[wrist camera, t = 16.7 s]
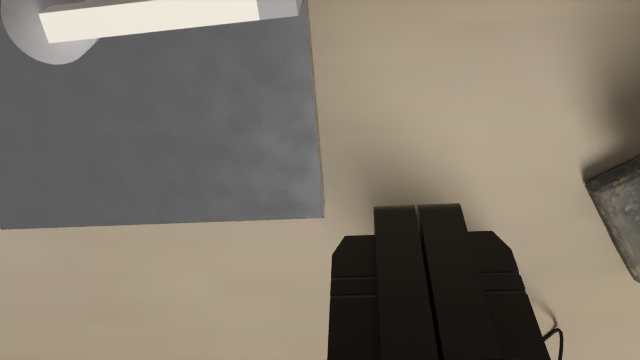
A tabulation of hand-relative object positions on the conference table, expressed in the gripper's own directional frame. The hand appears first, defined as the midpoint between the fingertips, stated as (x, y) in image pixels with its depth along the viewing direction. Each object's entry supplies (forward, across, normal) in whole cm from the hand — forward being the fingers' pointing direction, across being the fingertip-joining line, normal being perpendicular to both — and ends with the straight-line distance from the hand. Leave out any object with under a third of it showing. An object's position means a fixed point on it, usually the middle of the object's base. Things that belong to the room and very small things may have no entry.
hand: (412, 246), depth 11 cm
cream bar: (+27, +12, +2) cm, 30 cm away
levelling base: (+29, +16, +6) cm, 34 cm away
